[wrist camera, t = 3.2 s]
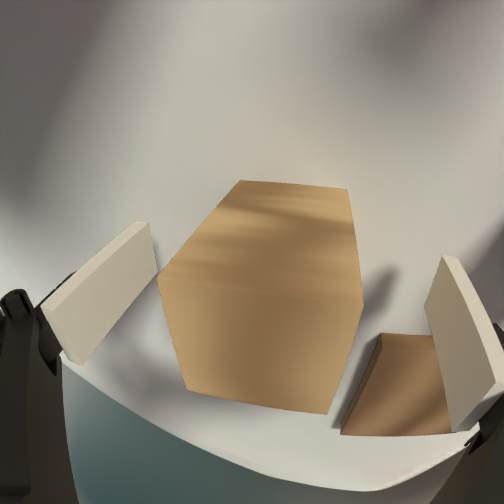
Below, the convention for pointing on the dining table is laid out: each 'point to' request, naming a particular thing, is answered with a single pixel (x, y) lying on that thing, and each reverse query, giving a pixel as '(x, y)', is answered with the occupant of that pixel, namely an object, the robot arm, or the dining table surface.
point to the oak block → (267, 296)
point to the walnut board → (400, 391)
